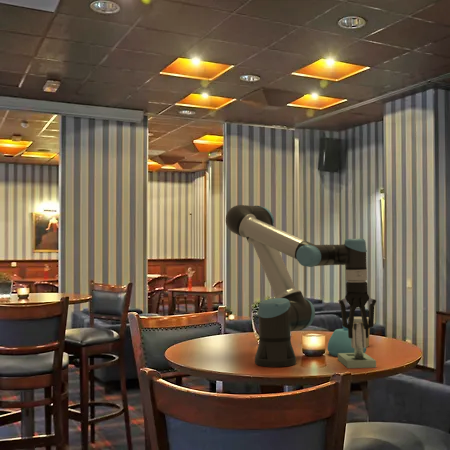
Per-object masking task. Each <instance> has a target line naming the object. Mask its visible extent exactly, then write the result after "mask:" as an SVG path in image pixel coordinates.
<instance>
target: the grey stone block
mask: <svg viewBox="0 0 450 450" xmlns="http://www.w3.org/2000/svg"><path fill="white" fill-rule="evenodd" d="M353 326H354V329H355V348H354V356H355V360H364V351H363V323H353Z"/></svg>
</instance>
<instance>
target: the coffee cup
mask: <svg viewBox="0 0 450 450" xmlns="http://www.w3.org/2000/svg"><path fill="white" fill-rule="evenodd" d="M348 321H349V317H347V322H348ZM368 321H369V316H367V322H368ZM353 323H363V322H362V316H354V321H353ZM363 328H364V327H363ZM353 329H354V326H353ZM370 331H371V327H370V328H369V329H368V338H366V348H369V347H368V346H370Z"/></svg>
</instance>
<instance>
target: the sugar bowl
mask: <svg viewBox="0 0 450 450" xmlns="http://www.w3.org/2000/svg"><path fill="white" fill-rule="evenodd" d="M327 351H328V353H329V354H330V355H331V356H333V357H337V358H338V353H354V348H352V347H351V338H349V337H348V328H345V327H343V325H342V328H337V329H335V330H334V331H333V332H332V335H331V336H330V337H329V339H328V343H327ZM363 351H364V353H365V354H366V352H367V347H366V348H364V347H363Z"/></svg>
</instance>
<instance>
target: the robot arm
mask: <svg viewBox="0 0 450 450" xmlns="http://www.w3.org/2000/svg"><path fill="white" fill-rule="evenodd" d="M225 225H226V227H227V229H228V230H229V231H230V232H232V233H233V234H235V235H237V236H239V237H242V238H245V239H246V241H247V243H249V244H250V245H251V244H252V245H253V247H254V251H255V252H256V255H257V258H258V260H259V262H260V264H261V266H262V269H263V272H264V273H265V276H266V278H267V281H268V282H269V286H270V287H271V290H272V291H273V294H274V297H275V298H270V299H264V300H262V301H261V302H260V303H259V305H258V311H257V315H258V341H259V342H258V346H257V349H256V352H255V355H254V364H255V365H257V366H260V367H265V368H266V367H268V368H275V367H276V368H280V367H281V368H282V367H283V368H284V367H290V366H295V365H296V364H297V357H296V353H295V351H294V348H293V344H292V341H291V340H292V339H291V337H292V336H291V335H292V334H291V332H295V331H302V330H304V329H307V328H309V327H310V326H311V325H313V324H312V323H313V322H314V320H315V317H316V311H315V310H316V308H315V306H314V304H313V303H312V302H311V301H310V300H308V299H307V298H305V297H304V295H303V292H302V291H301V290H299V289H297V288H296V286H295V284H294V282H293V280H292V278H291V275H290V272H289V271H288V268H287V266H286V264H285V261H284V259H283V257H282V255H281V253H282V254H284V255H286V256H288V257H291V258H293V259H295V260H297V262H298V264H299V265H301V266H302V267H307V268H312V267H321V266H344V267H345V281H346V283H345V291H346V292H345V296H344V298H342V299H339V300H338V304H339V306H340V311H341V312H340V314H341V322H342V326H343V327H345V328H348V337H349V338H351V347H352V348H355V329H353V321H354V317H355V313H356V309H357V308H359V310H360V314H361V315H360V317H362V322H363V327H364V328H363V347H364V348H366V349H367V347H366V338H368V329H369V328H370V329H371V328H373V327H374V322H375V321H374V320H375V305H376V303H377V299H374V298H371V297H370V295H369V291H368V290H369V289H368V282H367V281H368V269H367V268H368V267H367V265H368V264H367V263H368V262H367V252H368V251H367V243H366V239H365V238H346V239H344V243H342V244H314V243H311V242H309V241H307V240H305V239H302V238H300V237H298V236H296V235H293V234H291V233H289V232H287V231H285V230H282V229H281V228H278V227H276V226H274V225H275V219H274V214H273V213H272V212H271V210H270V209H268V208H267V207H264V206H261V205H248V204H247V205H244V204H238V205H234V206H232V207H230V209H229V210H228V211H227V213H226V215H225ZM367 303H368V316H367V311H366V304H367ZM347 304H348V305H349V315H347V309H346V305H347ZM347 316H348V317H347ZM367 317H369V321H368V322H367ZM348 318H349V321H348ZM343 327H342V328H343Z"/></svg>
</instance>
